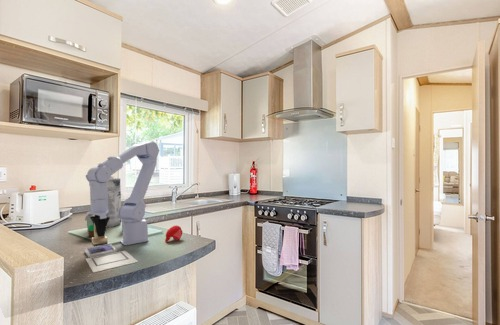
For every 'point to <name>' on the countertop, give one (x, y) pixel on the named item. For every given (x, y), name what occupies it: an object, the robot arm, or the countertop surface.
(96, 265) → the paper
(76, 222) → the countertop surface
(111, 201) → the juice carton
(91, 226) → the food container
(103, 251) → the ink pad
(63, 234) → the countertop surface
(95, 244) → the stamp
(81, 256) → the countertop surface
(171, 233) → the red rounded piece
